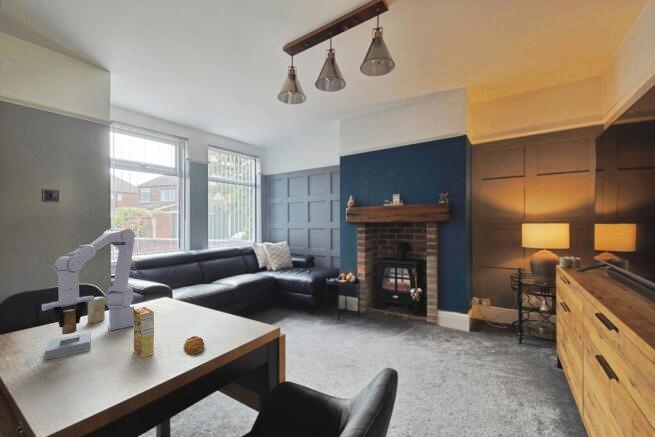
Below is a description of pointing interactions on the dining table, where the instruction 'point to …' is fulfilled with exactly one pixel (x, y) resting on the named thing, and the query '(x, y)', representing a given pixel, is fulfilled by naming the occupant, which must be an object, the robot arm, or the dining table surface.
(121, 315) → the robot arm
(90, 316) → the box
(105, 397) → the dining table surface
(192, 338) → the pastry
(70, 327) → the peg
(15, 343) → the dining table surface
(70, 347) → the socket block
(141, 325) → the candy box
